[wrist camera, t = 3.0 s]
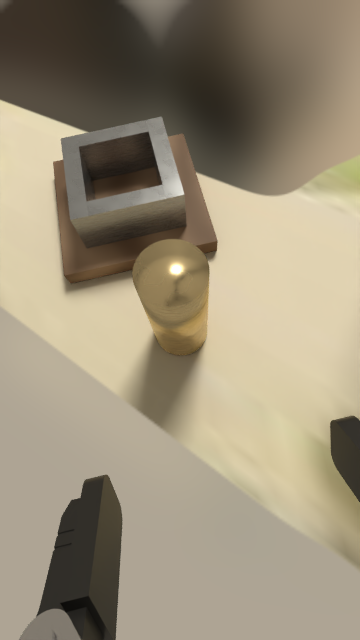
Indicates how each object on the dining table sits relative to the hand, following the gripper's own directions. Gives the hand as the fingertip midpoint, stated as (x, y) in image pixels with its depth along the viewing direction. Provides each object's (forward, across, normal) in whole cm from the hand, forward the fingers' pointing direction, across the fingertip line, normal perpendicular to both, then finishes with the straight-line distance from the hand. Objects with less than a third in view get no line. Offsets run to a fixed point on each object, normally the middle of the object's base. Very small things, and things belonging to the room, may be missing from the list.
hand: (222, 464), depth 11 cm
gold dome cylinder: (+17, 0, +2) cm, 17 cm away
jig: (+27, +2, -8) cm, 28 cm away
